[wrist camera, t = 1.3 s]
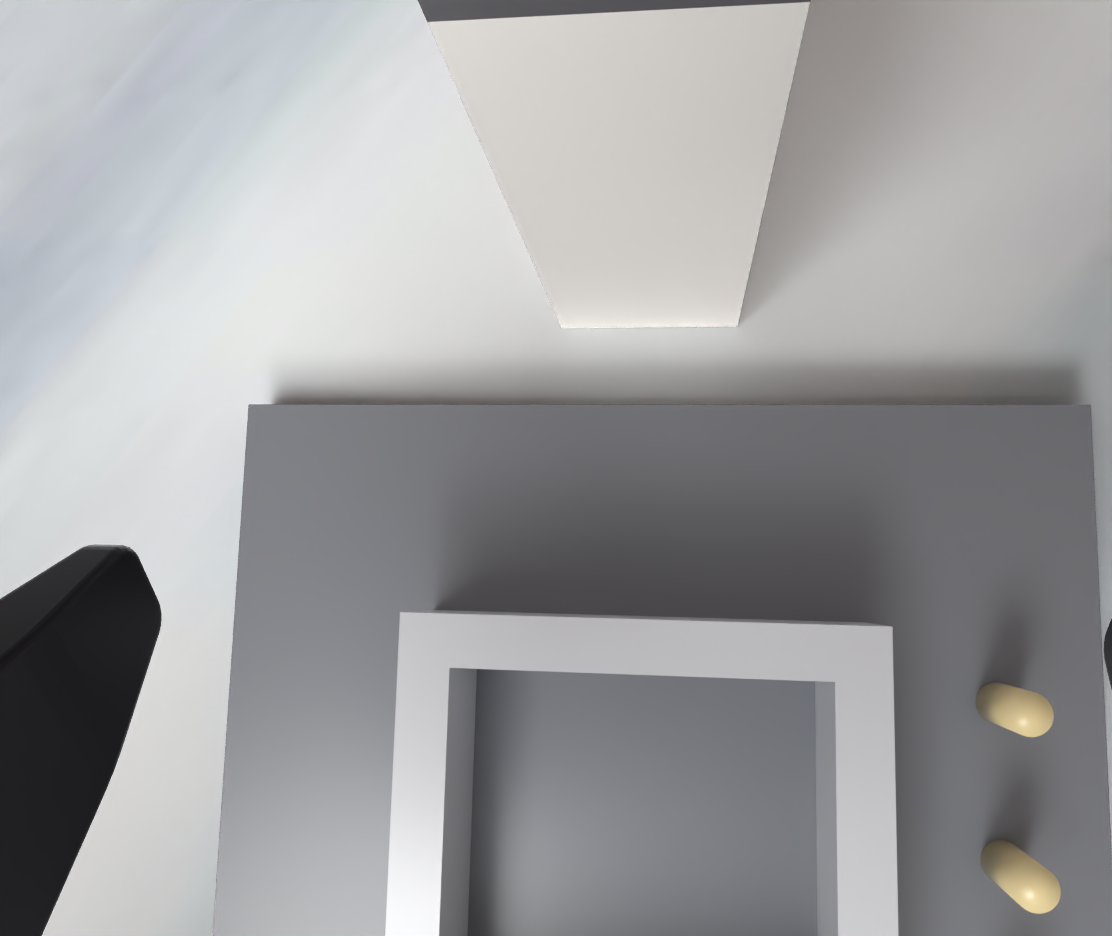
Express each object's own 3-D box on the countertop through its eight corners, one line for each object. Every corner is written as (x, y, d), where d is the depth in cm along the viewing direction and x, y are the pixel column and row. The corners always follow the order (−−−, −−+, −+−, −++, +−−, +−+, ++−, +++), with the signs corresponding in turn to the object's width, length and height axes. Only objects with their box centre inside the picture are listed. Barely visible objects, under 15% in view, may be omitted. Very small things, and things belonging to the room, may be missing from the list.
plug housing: (561, 328, 22) (401, -39, 9) (566, 163, 23) (419, -400, 10) (737, 326, 21) (825, -65, 9) (737, 158, 22) (820, -445, 9)
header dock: (213, 1242, 20) (118, 1373, 17) (267, 412, 23) (193, 380, 19) (1111, 1349, 18) (1214, 1527, 15) (1070, 413, 20) (1151, 377, 17)
